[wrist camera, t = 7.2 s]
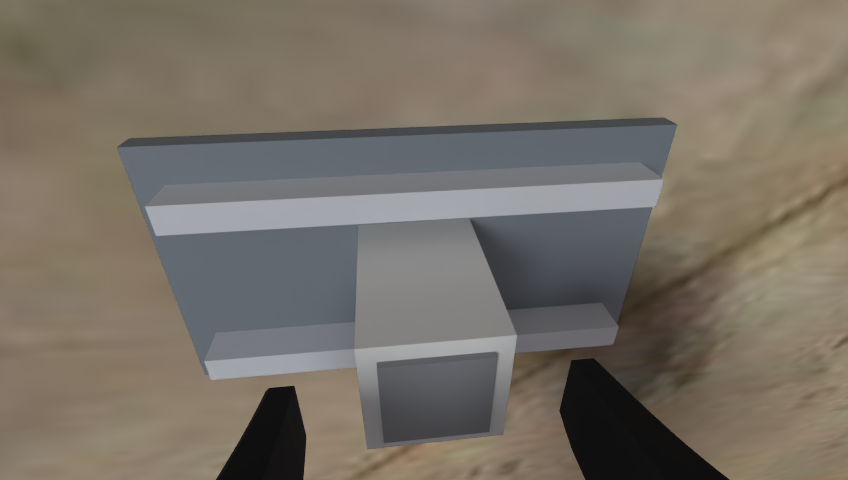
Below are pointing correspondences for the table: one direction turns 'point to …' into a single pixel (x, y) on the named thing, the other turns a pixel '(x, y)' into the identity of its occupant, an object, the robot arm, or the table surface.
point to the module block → (429, 335)
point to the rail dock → (393, 203)
